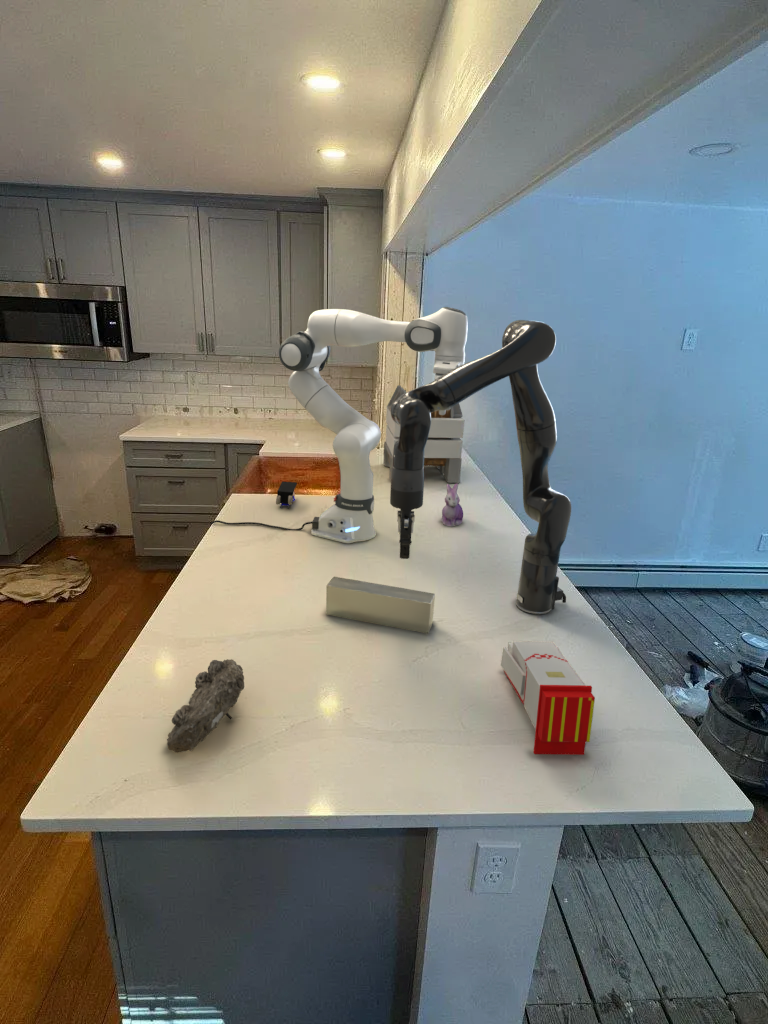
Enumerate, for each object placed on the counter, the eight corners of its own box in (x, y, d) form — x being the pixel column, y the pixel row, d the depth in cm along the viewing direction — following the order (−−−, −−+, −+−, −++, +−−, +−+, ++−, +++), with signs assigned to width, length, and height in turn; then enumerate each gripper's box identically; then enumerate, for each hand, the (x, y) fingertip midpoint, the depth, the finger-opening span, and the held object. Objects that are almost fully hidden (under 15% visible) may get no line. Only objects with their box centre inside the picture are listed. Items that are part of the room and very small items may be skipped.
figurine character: (293, 513, 218) (297, 497, 231) (292, 495, 215) (297, 480, 228) (275, 513, 218) (281, 496, 231) (274, 495, 214) (280, 479, 228)
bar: (326, 614, 146) (326, 585, 143) (333, 604, 151) (333, 576, 148) (428, 633, 139) (430, 603, 136) (432, 623, 144) (434, 593, 141)
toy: (549, 624, 127) (604, 693, 98) (544, 678, 130) (596, 762, 100) (496, 622, 127) (535, 692, 97) (491, 677, 129) (528, 761, 100)
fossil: (192, 660, 117) (244, 628, 112) (224, 691, 120) (276, 661, 115) (142, 746, 98) (202, 712, 93) (182, 779, 101) (242, 748, 96)
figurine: (448, 528, 206) (452, 489, 201) (433, 519, 215) (436, 481, 210) (470, 525, 210) (473, 486, 205) (454, 516, 219) (457, 479, 214)
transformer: (382, 463, 289) (386, 382, 275) (445, 464, 293) (451, 384, 279) (390, 482, 257) (394, 392, 243) (460, 483, 261) (468, 394, 247)
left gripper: (444, 362, 178) (440, 406, 183) (432, 367, 160) (428, 416, 165) (464, 363, 177) (460, 408, 182) (454, 369, 158) (449, 418, 163)
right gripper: (425, 496, 122) (421, 564, 128) (422, 477, 136) (419, 539, 141) (390, 494, 122) (387, 562, 128) (391, 476, 136) (388, 538, 141)
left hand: (444, 412), depth 173 cm, fingers open, 8 cm apart
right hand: (404, 550), depth 134 cm, fingers open, 8 cm apart
